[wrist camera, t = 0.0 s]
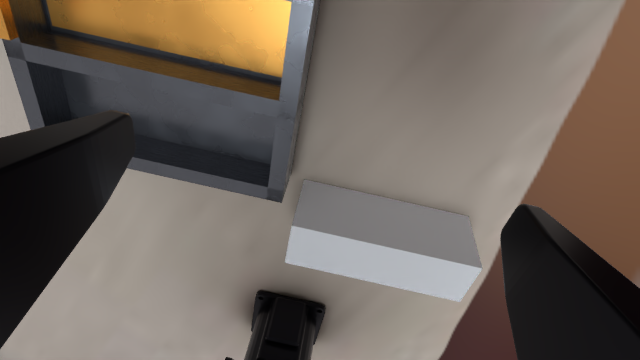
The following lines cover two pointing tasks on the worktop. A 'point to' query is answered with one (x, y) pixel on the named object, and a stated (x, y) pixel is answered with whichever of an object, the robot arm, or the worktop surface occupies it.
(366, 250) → the panel
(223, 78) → the box
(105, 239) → the worktop surface
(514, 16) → the worktop surface
